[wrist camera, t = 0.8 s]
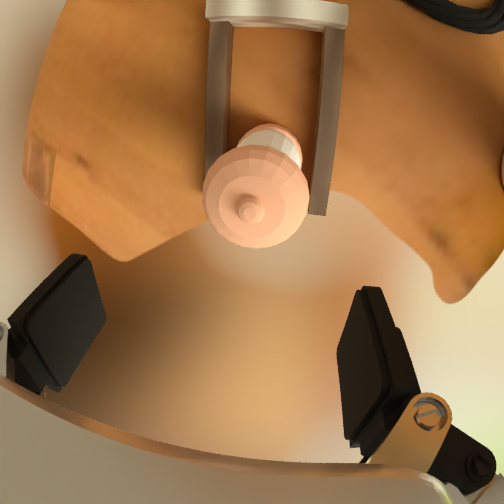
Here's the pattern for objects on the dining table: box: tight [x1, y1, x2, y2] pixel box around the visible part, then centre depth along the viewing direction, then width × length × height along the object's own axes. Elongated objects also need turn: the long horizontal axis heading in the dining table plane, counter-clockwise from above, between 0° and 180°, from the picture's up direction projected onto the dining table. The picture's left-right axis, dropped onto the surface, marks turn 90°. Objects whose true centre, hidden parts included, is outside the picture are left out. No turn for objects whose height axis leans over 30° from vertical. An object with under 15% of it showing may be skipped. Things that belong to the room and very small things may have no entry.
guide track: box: [205, 0, 349, 216], centre depth 28 cm, size 14×24×5 cm, turn 177°
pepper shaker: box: [202, 123, 310, 248], centre depth 25 cm, size 7×7×19 cm
